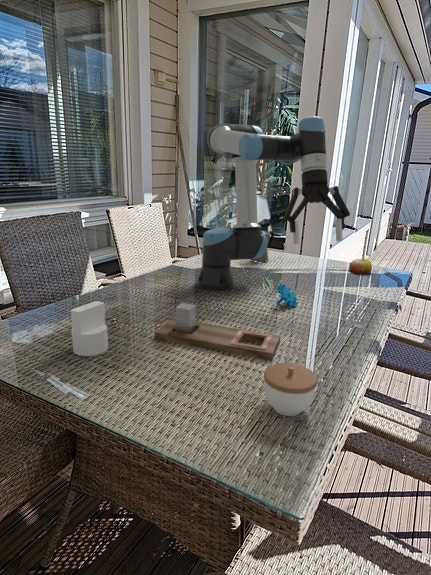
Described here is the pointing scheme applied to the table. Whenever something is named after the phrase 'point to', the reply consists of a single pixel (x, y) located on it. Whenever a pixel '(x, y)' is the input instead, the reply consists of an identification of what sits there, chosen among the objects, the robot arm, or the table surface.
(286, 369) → the lidded jar
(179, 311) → the steel block
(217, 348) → the walnut rail
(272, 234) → the coffeepot
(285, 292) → the gear
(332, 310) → the table surface
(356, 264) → the fruit
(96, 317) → the cylinder with rectangular tab
